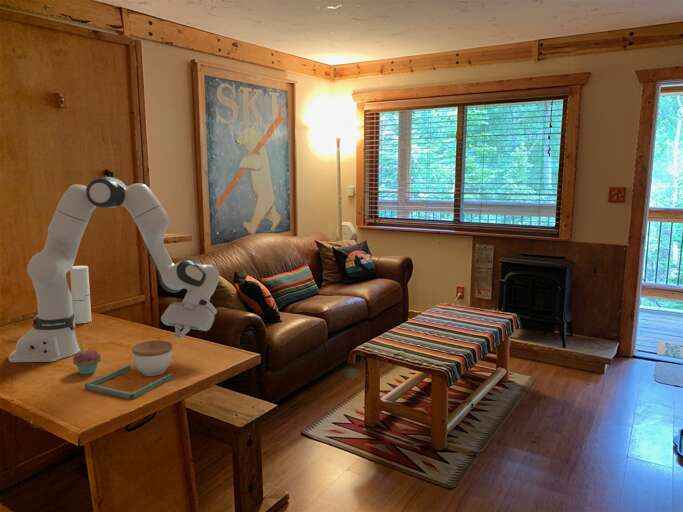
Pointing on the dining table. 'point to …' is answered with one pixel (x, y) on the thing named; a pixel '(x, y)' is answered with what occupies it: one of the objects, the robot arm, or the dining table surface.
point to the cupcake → (86, 360)
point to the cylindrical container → (80, 294)
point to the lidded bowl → (152, 357)
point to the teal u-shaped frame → (94, 386)
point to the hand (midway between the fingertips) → (177, 337)
